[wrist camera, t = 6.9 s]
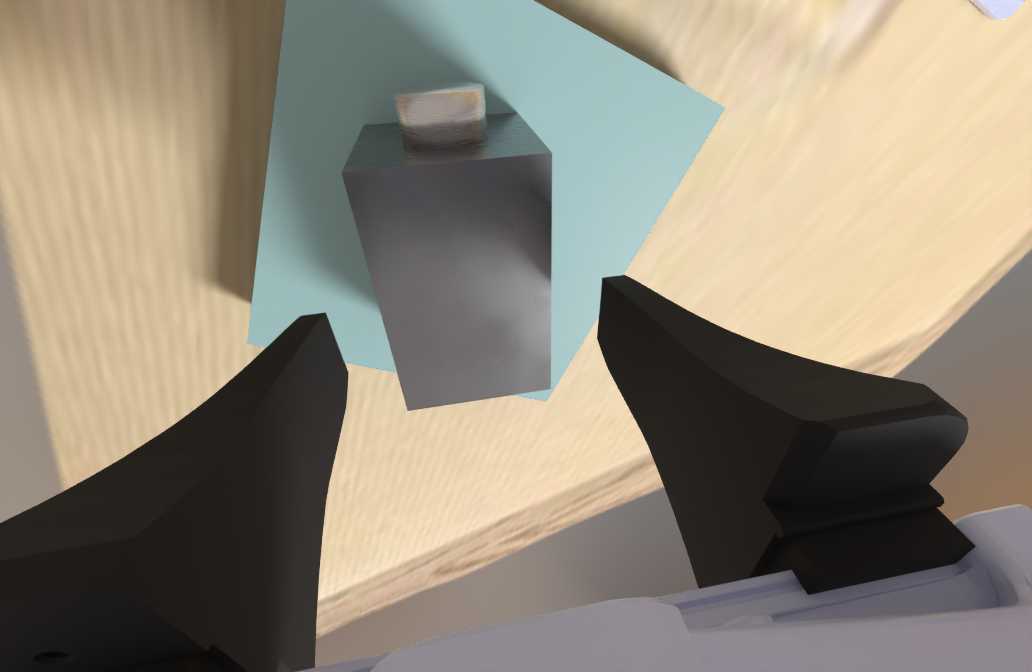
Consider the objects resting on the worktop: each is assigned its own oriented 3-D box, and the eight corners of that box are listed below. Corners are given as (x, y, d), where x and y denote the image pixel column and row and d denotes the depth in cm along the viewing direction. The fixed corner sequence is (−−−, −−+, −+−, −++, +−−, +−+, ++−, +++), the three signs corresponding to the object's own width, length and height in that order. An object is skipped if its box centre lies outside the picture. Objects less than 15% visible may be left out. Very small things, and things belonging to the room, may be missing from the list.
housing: (525, 311, 20) (550, 388, 16) (410, 326, 19) (407, 410, 15) (516, 70, 14) (552, 97, 10) (353, 82, 13) (325, 115, 10)
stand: (692, 96, 18) (725, 107, 16) (536, 370, 25) (546, 401, 23) (319, -110, 13) (300, -130, 11) (264, 310, 20) (247, 343, 18)
